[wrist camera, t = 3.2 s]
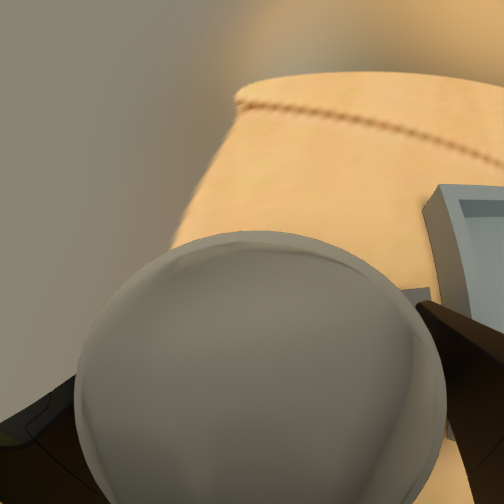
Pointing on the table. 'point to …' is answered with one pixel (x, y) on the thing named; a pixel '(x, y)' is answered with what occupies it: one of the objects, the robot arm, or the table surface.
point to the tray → (469, 251)
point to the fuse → (259, 379)
